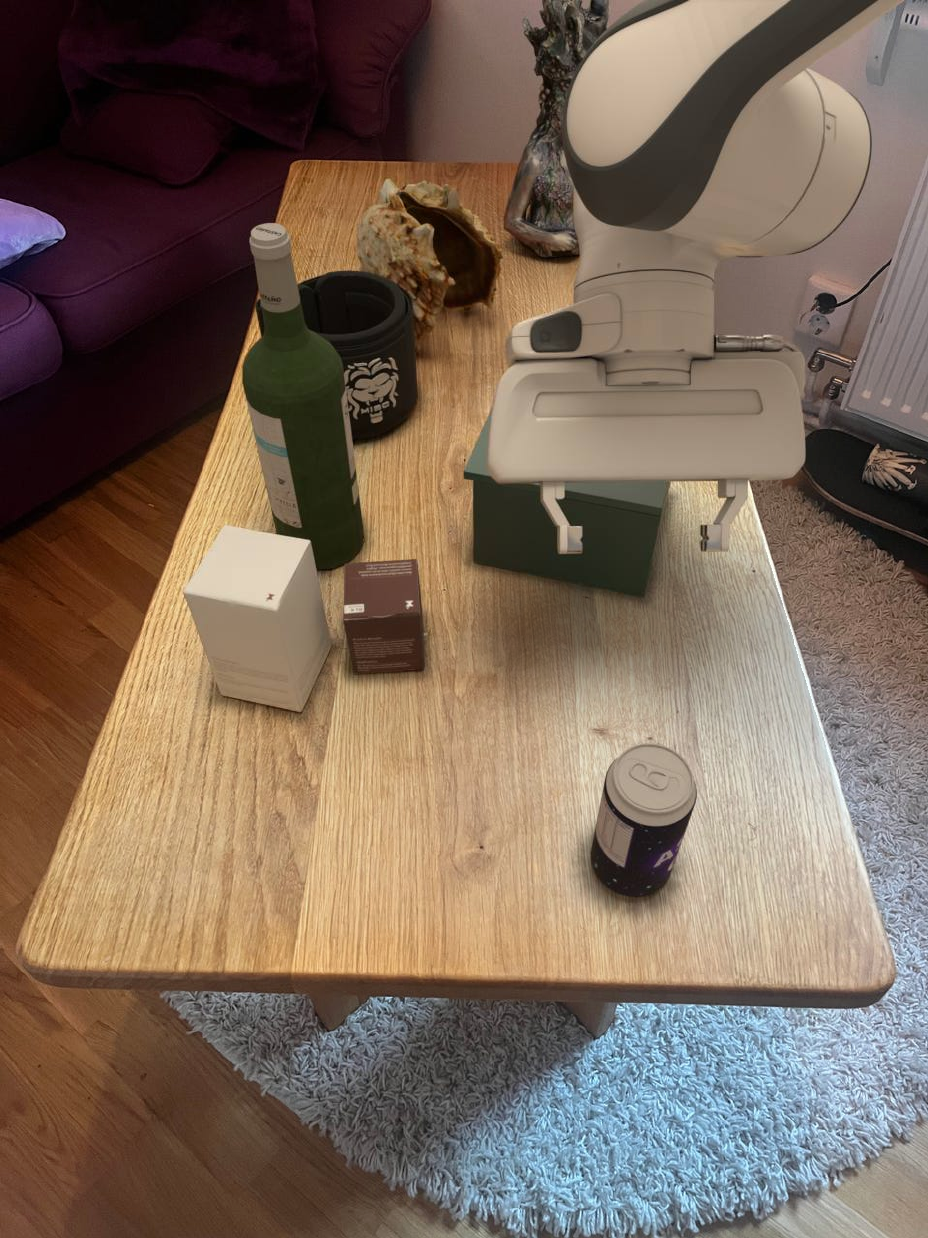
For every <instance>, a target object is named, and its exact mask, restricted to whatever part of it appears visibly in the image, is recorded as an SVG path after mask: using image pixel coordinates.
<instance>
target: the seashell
mask: <svg viewBox="0 0 928 1238" xmlns="http://www.w3.org/2000/svg"><path fill="white" fill-rule="evenodd" d="M377 199H378V203H377V204H373V205H371V206H370V207H369V206H368V208H367V209H366V211H365V212H363V214H362V216H361V218H360V222H359V224H358V226H357V231H356V240H357V241H356V242H357V249H356V250H357V251H356V255H357V259H358V260H359V262H360V268H359V269H358V271H363V272H369V273H373V274H377V275H379V276H382V277H384V278H386V279H389V280H391V281H393V282H395V283H396V284H398V285H399V286H401V287H402V288H404V289H405V290H406V291H407V292H408V293H409V294H410V296H411V298H412V302H413V317H414V335H415V352H416V354H417V353H418V352H419V351H420V350H421V347H422V344H423V339H424V338H425V337H426V336H428V335H429V334H431V333H432V332H433V331H434V330H435V327H436V325H437V321H438V319H439V317H440V313H441V311H442V309H443V308H446V309H449V310H453V309H457V308H460V309H461V308H462V309H463V310H464V311H465V312H466V313H468V312H470V311H471V310H472V308H475V306H476V305H478V304H483V305H485V306H486V308H488V309H490V310H493V309H494V301H495V296H496V293H495V292H496V291H498V289H497V280H498V279H499V277H500V275H501V271H502V265H501V260H502V259H503V258H504V256H503V254H502V253H503V249H502V248H501V244H499V242H497V241H495V238H494V235H491V234H489V230H488V229H487V228H486V227H484V226H483V225H484V223H483V221H482V220H481V219H480V217H479V216H478V215H475V214H474V213H473V212H472V210H471V209H466V208H465V207H464V206H463V205H462V204H461V202H460V198H459V196H458V193H457V189H456V188H455V187H452V189H451V190H450V188H449V183H444V184H443V187H441V186H440V185H438V184H436V183H433V182H431V181H428V180H425V179H424V180H421V181H420V182H417V183H404V184H403V185H401V186H400V187H398V186H397V185H396V184H395V183H394V182H393V180H391V178H385V180H384V182H383V184H382V185H381V187H380V189H379V191H378V198H377Z"/></svg>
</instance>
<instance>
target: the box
mask: <svg viewBox="0 0 928 1238" xmlns="http://www.w3.org/2000/svg"><path fill="white" fill-rule="evenodd" d="M419 572H420V571H419V563H418V559H417V558H412V559H411V558H410V559H395V560H392V559H391V560H379V561H362V562H361V561H360V562H346V563H344V571H343V611H342V612H343V613H342V614H343V616H342V621H343V626H344V631H345V636H346V641H347V647H348V653H349V657H350V658H349V659H350V664H351V668H352V672H353V674H354V675H359V674H373V673H375V674H376V673H386V672H402V671H403V672H404V671H416V670H424V669H425V668H426V655H425V633H424V619H423V618H424V617H423V606H422V605H423V604H422V594H421V593H422V592H421V582H420V573H419Z"/></svg>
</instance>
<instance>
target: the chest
mask: <svg viewBox="0 0 928 1238" xmlns="http://www.w3.org/2000/svg"><path fill="white" fill-rule="evenodd" d="M671 484H672V482H669V484H668V488H667V493H666V497H665V501H664V505H663V510H662V514H661V516H658V515H653V514H647V513H642V512H637V511H632V510H626V509H621V508H616V507H610V506H605V505H600V504H594V503H589V502H584V501H579V500H573V499H568V498H563V499H561V500H556V502H557V504H558V505H559V507H560V509H561V511H562V512H563V514H564V516H565V518H566V519H567V521H568V523H569V525H570V526H582V538H581V539H580V541H581V542H582V553H577V554H558V548H557V526H555V525H554V523H553V521H552V520H551V518H550V516H549V515H548V513H547V511H546V509H545V508H544V506H543V504H542V503H541V495H540V493H536V492H531V491H526V490H520V489H515V488H510V487H504V486H499V485H494V484H489V483H483V482H478V481H473V480H472V559H473V560H472V561H473V563H476V564H479V565H486V566H490V567H494V568H499V569H504V570H508V571H513V572H518V573H522V574H529V575H533V576H538V577H543V578H548V579H552V580H557V581H561V582H567V583H571V584H576V585H580V586H585V587H591V588H595V589H601V590H604V591H605V590H606V591H611V592H615V593H620V594H624V595H625V594H626V595H629V596H635V597H639V598H645V597H646V592H647V588H648V584H649V581H650V575H651V573H652V572H651V571H652V568H653V562H654V558H655V555H656V550H657V546H658V541H659V537H660V533H661V528H662V525H663V520H664V515H665V511H666V507H667V502H668V498H669V493H670V489H671Z"/></svg>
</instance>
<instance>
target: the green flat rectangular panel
mask: <svg viewBox="0 0 928 1238" xmlns="http://www.w3.org/2000/svg"><path fill="white" fill-rule="evenodd" d="M491 411H492V407H491V409H490V410H489V413H488V415H487V417H486V419H485V422H484V424H483V427H482V429H481V431H480V433H479V435H478V438H477V440H476V442H475V444H474V447H473V449H472V451H471V454H470V456H469V458H468V461H467V463H466V465H465V467H464V469H463V480H468V481H472V482H473V481H478V482H483V483H489V484H494V485H499V486H504V487H510V488H515V489H520V490H526V491H531V492H536V493H540V483H515V484H500V483H497V482H496V481H495V480H494V479H493V478H492V477H491V476H490V475H489V473H488V472H487V448H488V435H489V426H490V418H491ZM668 484H669V482H596V483H565V491H564V498H568V499H573V500H579V501H584V502H589V503H594V504H600V505H605V506H610V507H616V508H621V509H626V510H632V511H637V512H642V513H647V514H653V515H658V516H661V514H662V510H663V505H664V501H665V497H666V493H667V488H668Z"/></svg>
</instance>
